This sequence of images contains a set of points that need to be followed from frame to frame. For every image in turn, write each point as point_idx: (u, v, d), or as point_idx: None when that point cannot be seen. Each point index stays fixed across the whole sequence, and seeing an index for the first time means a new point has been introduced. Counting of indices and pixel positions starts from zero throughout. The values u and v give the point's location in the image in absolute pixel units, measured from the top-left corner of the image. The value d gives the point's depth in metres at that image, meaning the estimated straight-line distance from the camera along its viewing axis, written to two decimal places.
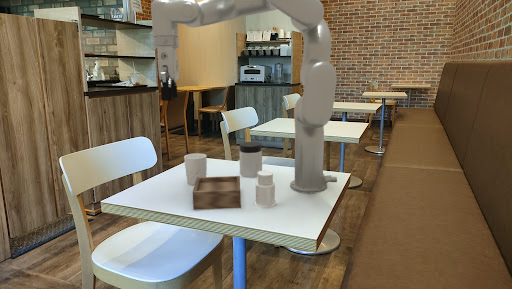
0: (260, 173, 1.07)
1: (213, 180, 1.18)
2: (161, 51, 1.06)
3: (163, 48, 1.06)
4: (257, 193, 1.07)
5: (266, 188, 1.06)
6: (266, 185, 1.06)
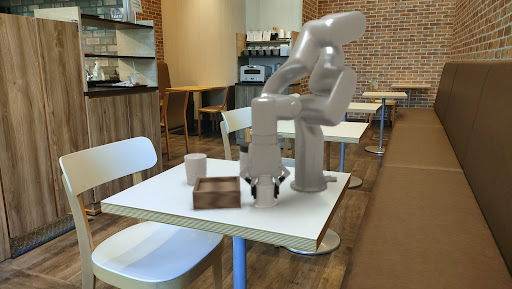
0: None
1: (213, 180, 1.18)
2: None
3: (279, 145, 1.06)
4: (257, 193, 1.07)
5: (266, 188, 1.06)
6: (266, 185, 1.06)
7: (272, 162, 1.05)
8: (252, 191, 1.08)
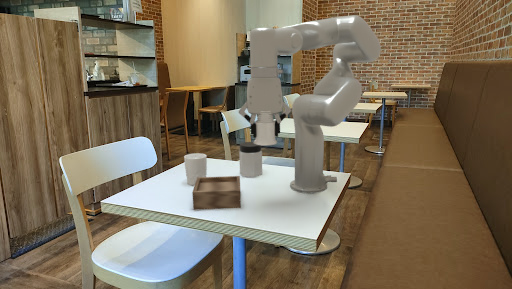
0: None
1: (213, 180, 1.18)
2: (280, 82, 1.02)
3: None
4: (257, 131, 1.03)
5: (266, 124, 1.02)
6: (266, 122, 1.02)
7: (272, 97, 1.01)
8: (252, 129, 1.04)
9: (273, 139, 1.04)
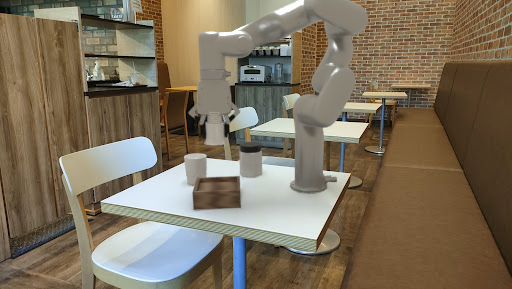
0: None
1: (213, 180, 1.18)
2: (228, 84, 1.05)
3: (228, 81, 1.05)
4: (206, 131, 1.06)
5: (215, 125, 1.05)
6: (215, 122, 1.05)
7: (220, 98, 1.04)
8: (202, 129, 1.07)
9: (222, 139, 1.07)
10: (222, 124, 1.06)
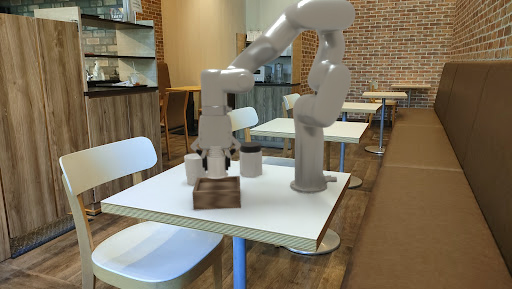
0: None
1: (213, 180, 1.18)
2: (230, 120, 1.07)
3: (229, 116, 1.07)
4: (208, 165, 1.09)
5: (216, 159, 1.07)
6: (216, 156, 1.07)
7: (222, 133, 1.06)
8: (203, 163, 1.09)
9: (223, 172, 1.09)
10: (223, 158, 1.08)
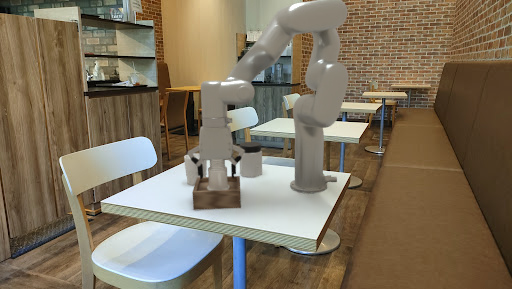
0: None
1: None
2: (230, 131, 1.08)
3: (230, 128, 1.08)
4: (209, 178, 1.10)
5: (217, 172, 1.08)
6: (217, 169, 1.08)
7: (222, 144, 1.07)
8: (198, 171, 1.10)
9: (225, 185, 1.10)
10: (224, 171, 1.09)
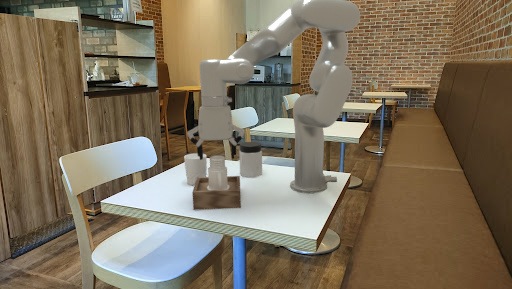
0: (212, 158, 1.09)
1: None
2: (230, 110, 1.06)
3: (229, 107, 1.07)
4: (209, 178, 1.10)
5: (217, 172, 1.08)
6: (218, 170, 1.08)
7: (222, 124, 1.06)
8: (198, 151, 1.09)
9: (225, 185, 1.10)
10: (224, 171, 1.09)
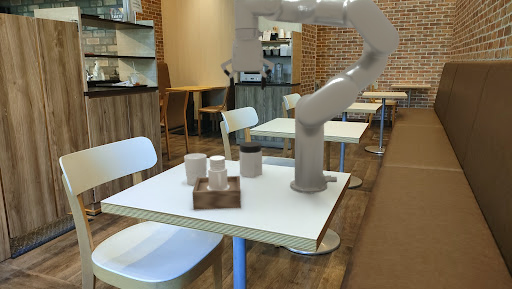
0: (212, 158, 1.09)
1: None
2: None
3: (260, 41, 1.15)
4: (209, 178, 1.10)
5: (217, 172, 1.08)
6: (218, 170, 1.08)
7: (254, 56, 1.13)
8: (231, 83, 1.16)
9: (225, 185, 1.10)
10: (224, 171, 1.09)
